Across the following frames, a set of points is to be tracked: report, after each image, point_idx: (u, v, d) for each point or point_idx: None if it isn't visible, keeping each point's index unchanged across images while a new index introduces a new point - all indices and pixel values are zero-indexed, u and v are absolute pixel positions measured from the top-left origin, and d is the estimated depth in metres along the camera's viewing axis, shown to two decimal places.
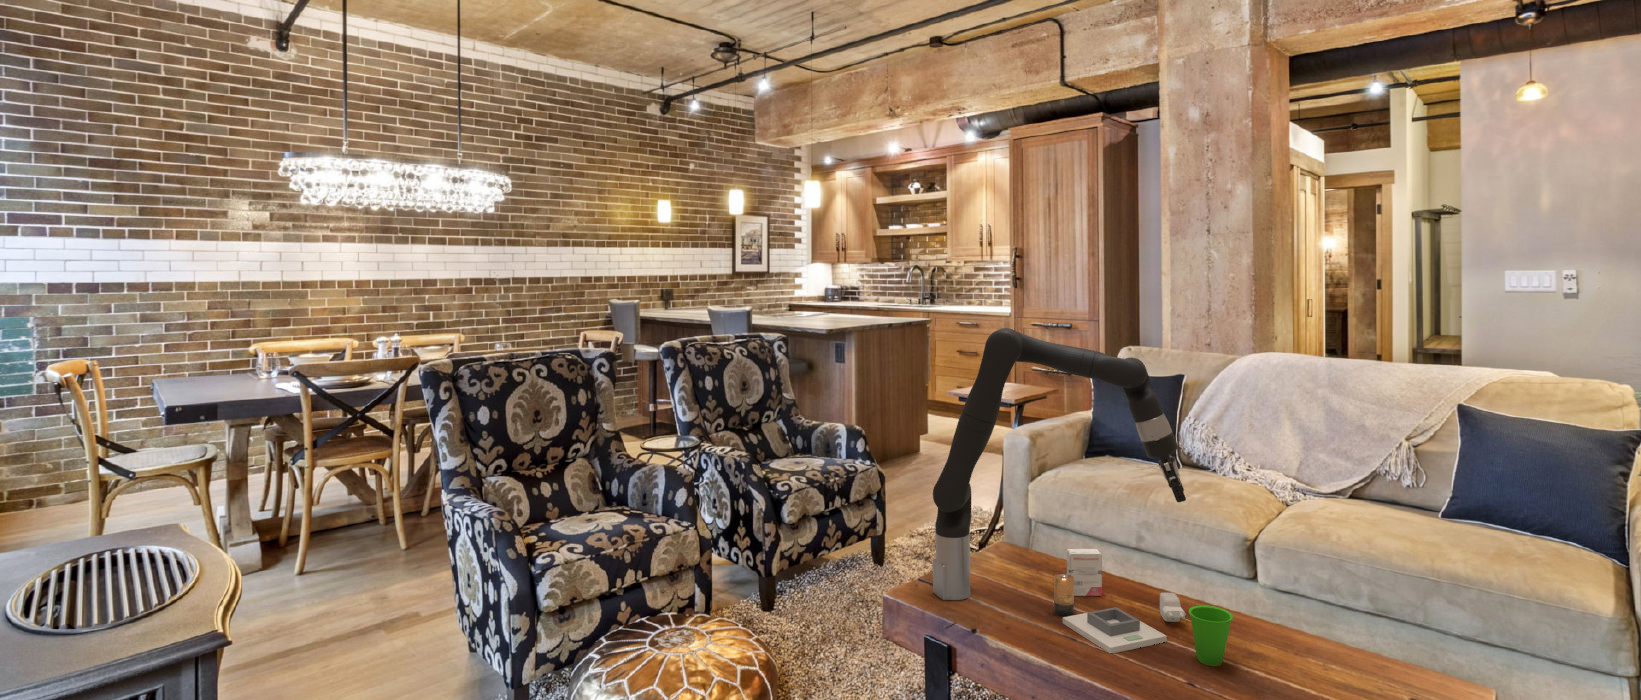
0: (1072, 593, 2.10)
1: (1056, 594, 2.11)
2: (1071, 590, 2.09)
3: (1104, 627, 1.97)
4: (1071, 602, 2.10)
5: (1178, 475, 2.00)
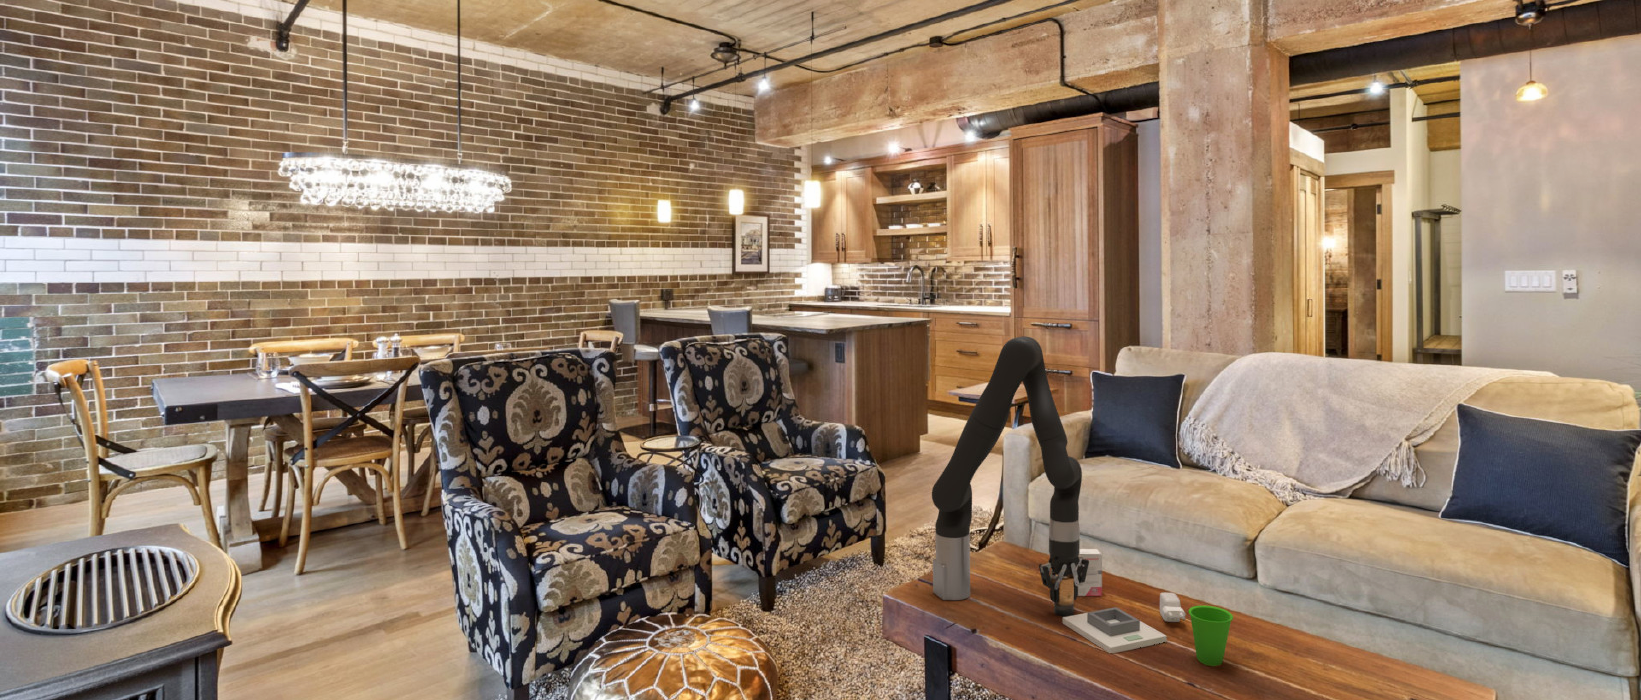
0: (1072, 593, 2.10)
1: None
2: (1071, 590, 2.10)
3: (1104, 627, 1.97)
4: (1071, 602, 2.10)
5: (1057, 580, 2.09)
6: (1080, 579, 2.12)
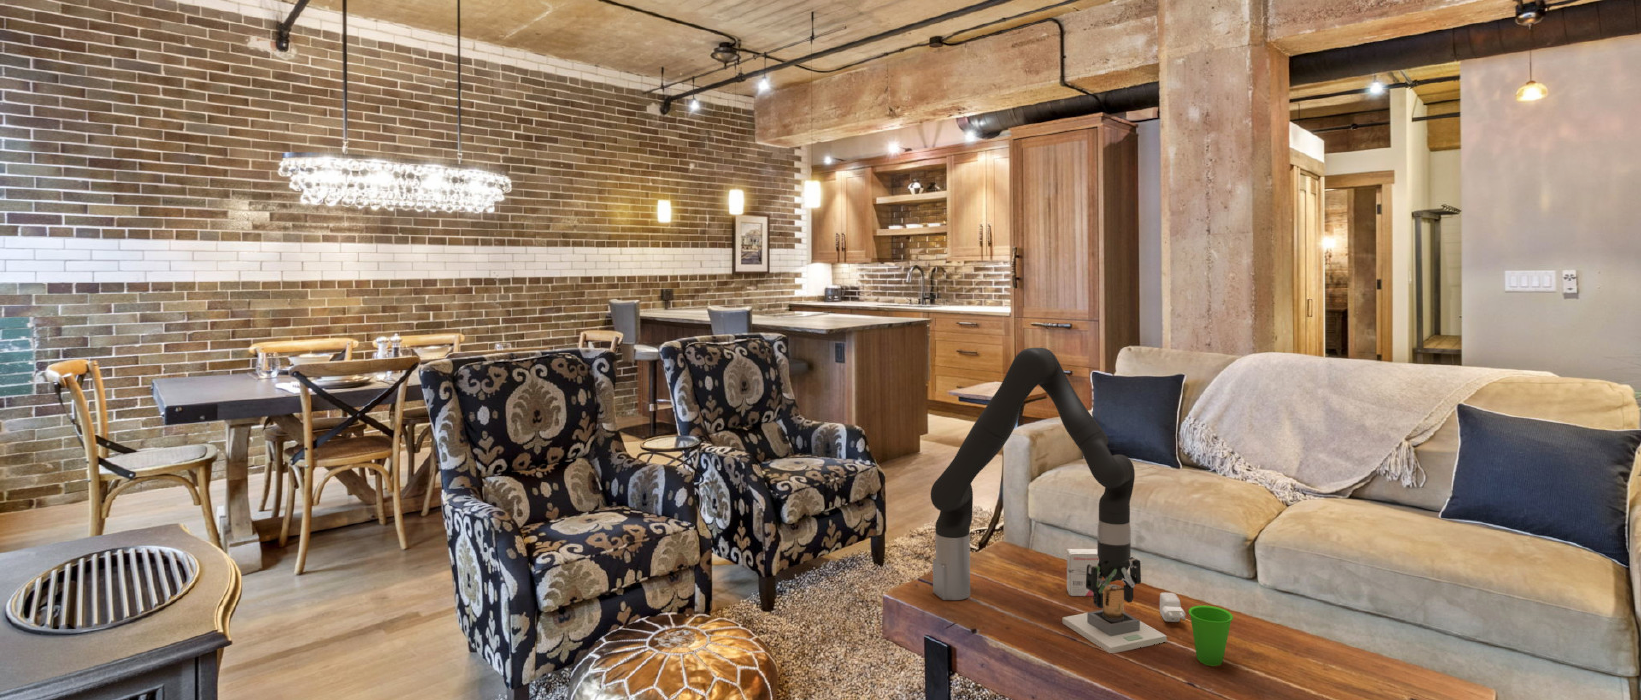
0: (1122, 605, 1.98)
1: (1105, 606, 1.99)
2: (1121, 601, 1.98)
3: (1104, 627, 1.97)
4: (1121, 614, 1.98)
5: (1104, 584, 1.96)
6: (1136, 581, 2.00)
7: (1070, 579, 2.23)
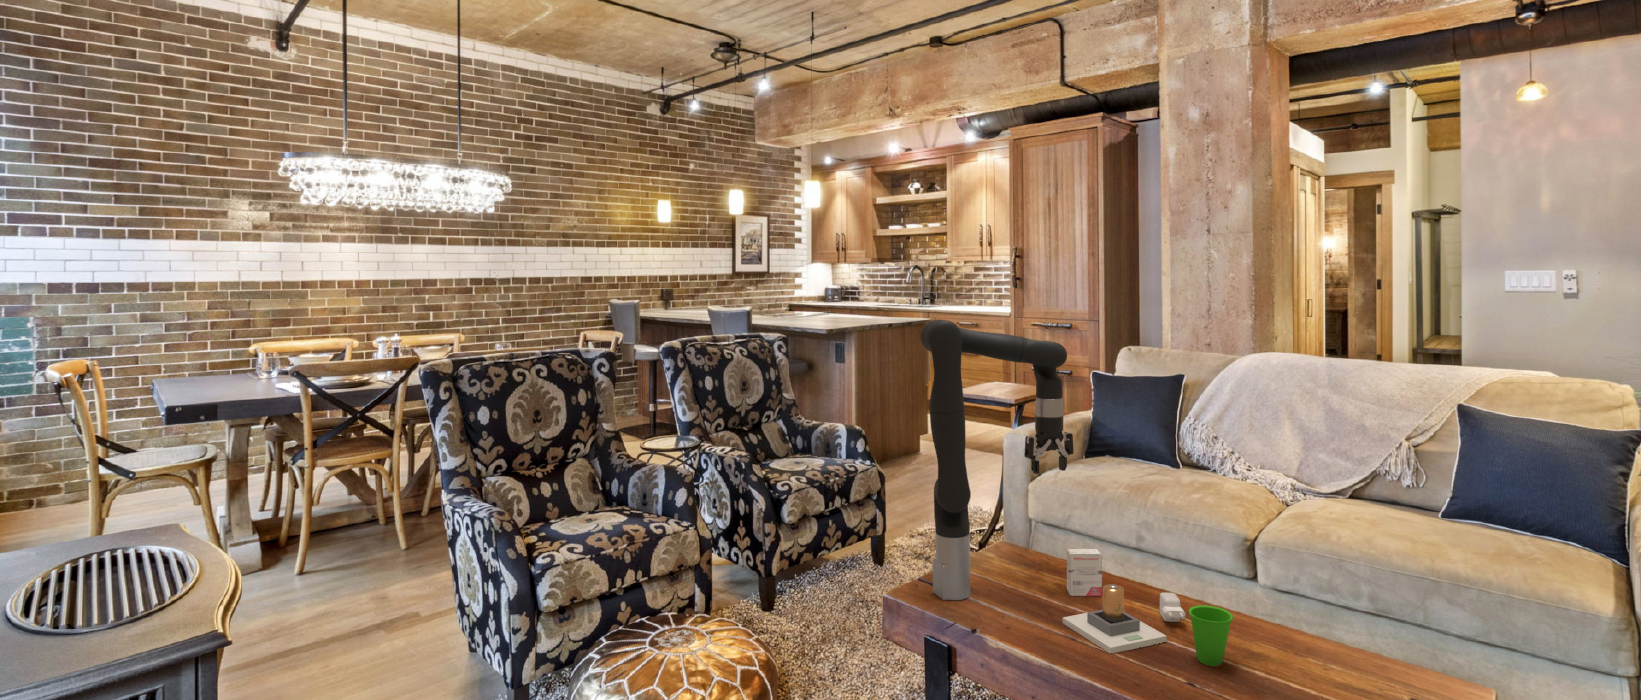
0: (1122, 605, 1.98)
1: (1105, 606, 1.99)
2: (1121, 601, 1.98)
3: (1104, 627, 1.97)
4: (1121, 614, 1.98)
5: (1040, 452, 2.26)
6: (1069, 452, 2.29)
7: (1070, 579, 2.23)
